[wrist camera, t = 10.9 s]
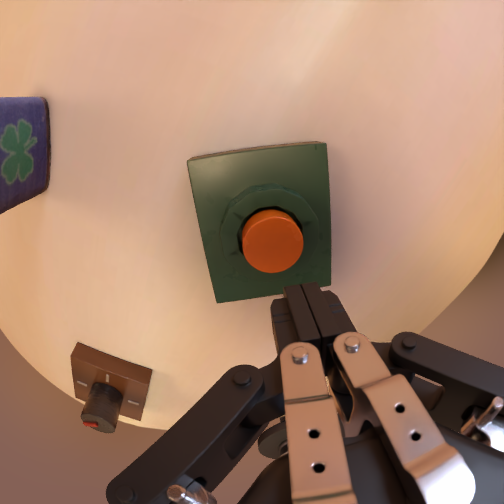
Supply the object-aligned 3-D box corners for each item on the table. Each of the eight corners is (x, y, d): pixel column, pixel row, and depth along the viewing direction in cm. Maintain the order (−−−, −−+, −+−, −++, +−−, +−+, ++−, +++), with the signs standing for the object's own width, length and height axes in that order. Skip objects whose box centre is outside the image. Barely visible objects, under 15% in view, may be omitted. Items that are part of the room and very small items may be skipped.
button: (299, 257, 21) (305, 268, 19) (245, 265, 20) (247, 277, 19) (295, 205, 19) (301, 212, 17) (237, 213, 19) (238, 221, 17)
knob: (111, 382, 27) (100, 416, 22) (129, 403, 29) (121, 436, 24) (85, 382, 27) (73, 414, 22) (103, 403, 29) (94, 433, 24)
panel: (143, 407, 33) (140, 422, 31) (80, 385, 31) (75, 398, 29) (152, 369, 30) (148, 386, 27) (77, 341, 27) (69, 356, 25)
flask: (31, 99, 16) (-53, 105, 6) (53, 93, 16) (-33, 93, 7) (31, 193, 20) (-44, 237, 10) (53, 192, 20) (-25, 239, 10)
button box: (324, 273, 26) (337, 297, 22) (217, 289, 25) (216, 316, 22) (317, 141, 20) (335, 144, 17) (190, 157, 20) (182, 164, 17)
